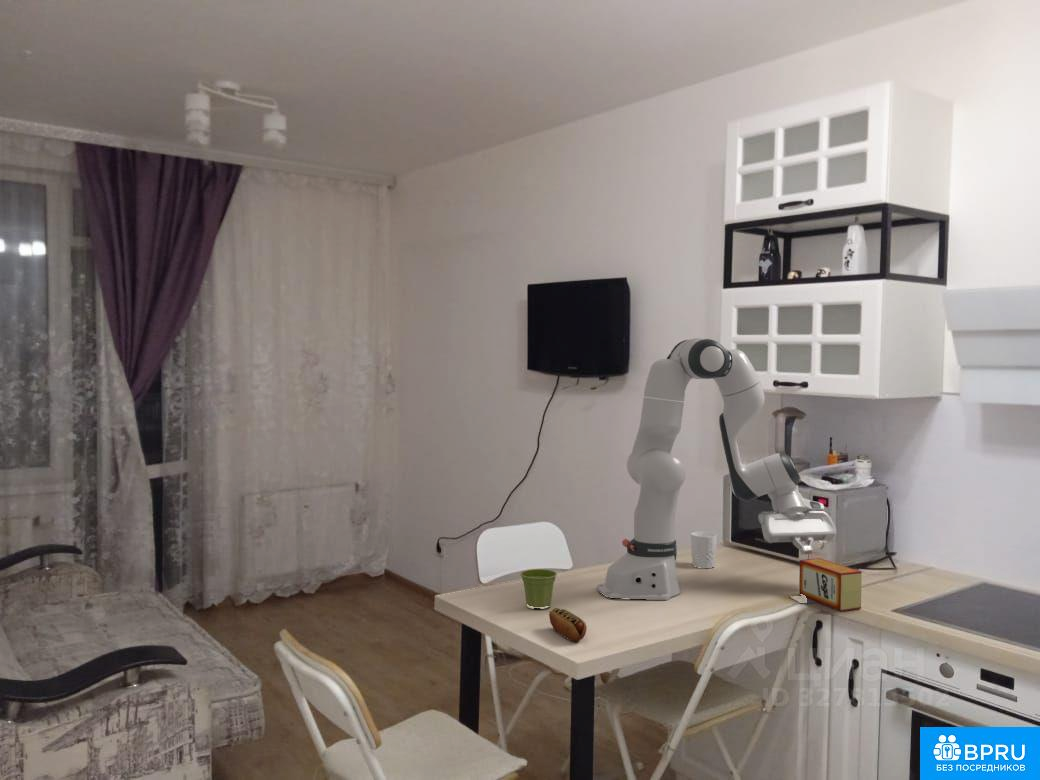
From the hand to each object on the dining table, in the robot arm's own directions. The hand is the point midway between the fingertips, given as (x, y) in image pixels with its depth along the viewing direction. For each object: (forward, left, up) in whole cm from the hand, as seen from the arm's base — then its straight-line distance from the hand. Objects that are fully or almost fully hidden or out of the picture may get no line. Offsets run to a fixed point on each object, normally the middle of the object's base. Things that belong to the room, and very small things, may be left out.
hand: (807, 553), depth 225 cm
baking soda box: (+1, 0, -6) cm, 6 cm away
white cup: (-16, +35, -12) cm, 40 cm away
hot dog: (-71, -23, -12) cm, 76 cm away
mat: (0, -4, -11) cm, 12 cm away
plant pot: (-74, 0, -12) cm, 75 cm away
